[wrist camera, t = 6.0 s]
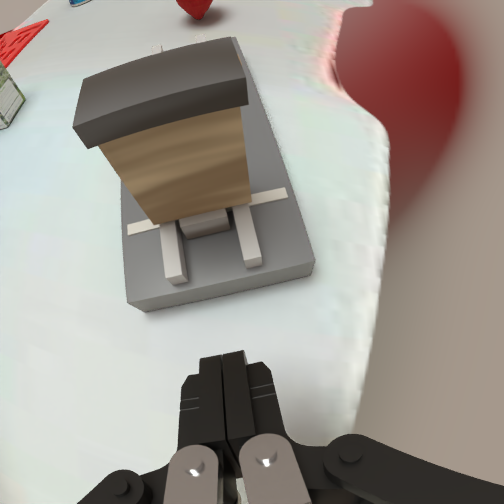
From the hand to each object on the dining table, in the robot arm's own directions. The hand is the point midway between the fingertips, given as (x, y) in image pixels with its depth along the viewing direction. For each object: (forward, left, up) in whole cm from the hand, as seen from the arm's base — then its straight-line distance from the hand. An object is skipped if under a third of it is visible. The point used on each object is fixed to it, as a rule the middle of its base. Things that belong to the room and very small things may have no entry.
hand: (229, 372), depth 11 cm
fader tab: (+6, +8, -7) cm, 13 cm away
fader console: (+12, +14, -10) cm, 21 cm away
